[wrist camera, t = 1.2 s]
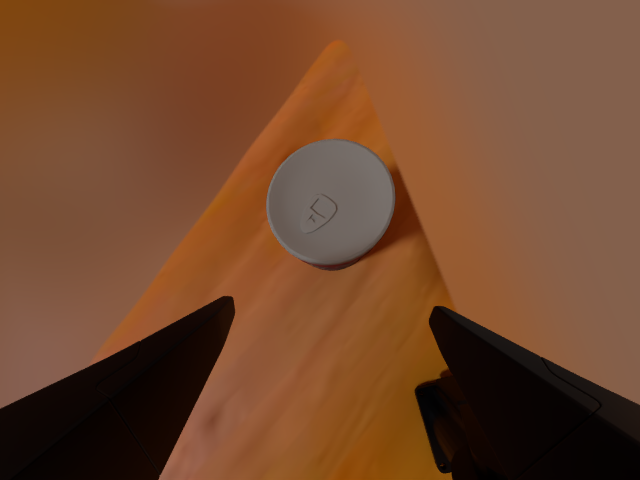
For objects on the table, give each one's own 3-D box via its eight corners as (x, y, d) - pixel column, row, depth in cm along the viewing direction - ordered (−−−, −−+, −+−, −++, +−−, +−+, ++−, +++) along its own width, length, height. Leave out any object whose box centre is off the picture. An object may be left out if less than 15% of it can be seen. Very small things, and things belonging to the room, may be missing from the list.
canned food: (285, 255, 24) (243, 237, 13) (314, 189, 25) (296, 121, 14) (353, 283, 23) (368, 287, 12) (380, 212, 24) (415, 158, 13)
